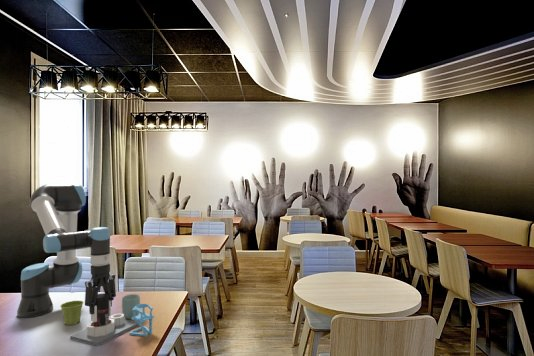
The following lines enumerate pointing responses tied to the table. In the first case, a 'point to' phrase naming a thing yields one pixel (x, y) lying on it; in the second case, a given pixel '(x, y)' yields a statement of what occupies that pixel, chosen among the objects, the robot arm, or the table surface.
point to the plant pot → (72, 312)
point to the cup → (130, 305)
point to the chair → (142, 320)
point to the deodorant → (102, 310)
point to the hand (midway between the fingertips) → (101, 318)
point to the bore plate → (103, 338)
